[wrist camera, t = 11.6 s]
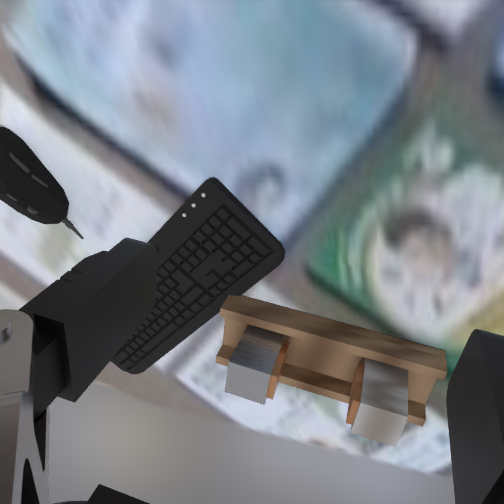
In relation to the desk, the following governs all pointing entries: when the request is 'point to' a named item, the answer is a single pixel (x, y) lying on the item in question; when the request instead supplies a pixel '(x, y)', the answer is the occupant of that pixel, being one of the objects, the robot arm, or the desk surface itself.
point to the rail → (345, 365)
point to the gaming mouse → (30, 183)
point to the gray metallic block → (257, 364)
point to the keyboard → (199, 270)
